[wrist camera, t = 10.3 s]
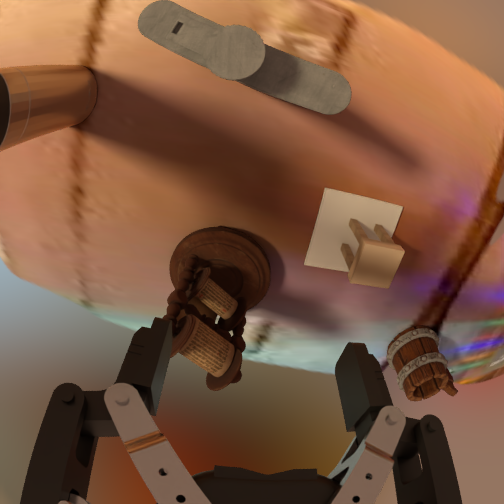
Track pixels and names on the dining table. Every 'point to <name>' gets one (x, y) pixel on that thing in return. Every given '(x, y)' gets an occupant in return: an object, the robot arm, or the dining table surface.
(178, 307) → the scroll
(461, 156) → the dining table surface
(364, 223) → the mat
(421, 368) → the mug
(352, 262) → the stool
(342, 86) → the hip flask
